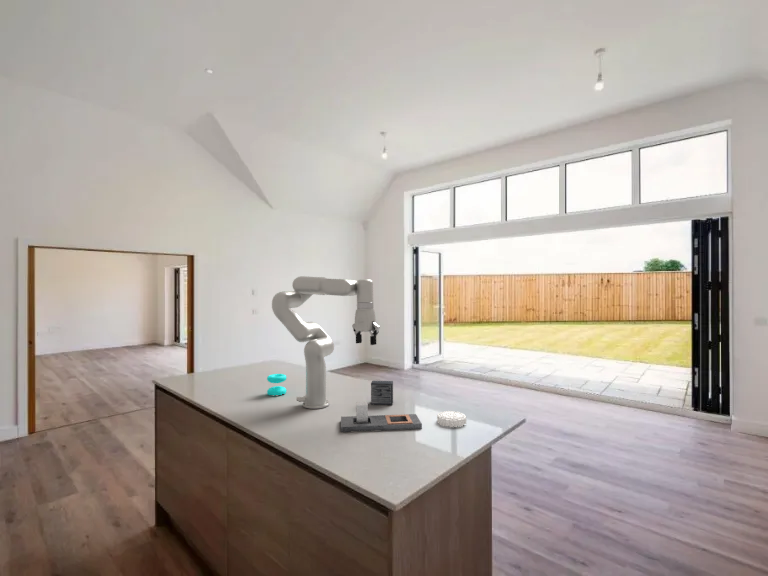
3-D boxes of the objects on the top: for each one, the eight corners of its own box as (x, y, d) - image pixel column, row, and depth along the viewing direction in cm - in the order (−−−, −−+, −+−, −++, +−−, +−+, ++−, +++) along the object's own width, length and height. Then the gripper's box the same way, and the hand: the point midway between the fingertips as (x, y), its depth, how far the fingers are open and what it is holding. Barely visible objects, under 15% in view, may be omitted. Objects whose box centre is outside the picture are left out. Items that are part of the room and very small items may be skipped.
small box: (393, 401, 188) (393, 380, 188) (392, 405, 181) (392, 383, 181) (372, 400, 189) (372, 379, 189) (370, 404, 182) (370, 383, 182)
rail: (340, 432, 147) (340, 426, 147) (341, 421, 159) (341, 416, 159) (421, 428, 150) (421, 423, 150) (415, 418, 162) (415, 413, 162)
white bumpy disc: (447, 429, 150) (447, 420, 150) (431, 420, 161) (431, 412, 161) (472, 425, 155) (472, 416, 155) (455, 416, 166) (455, 408, 166)
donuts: (290, 373, 204) (279, 378, 195) (290, 392, 204) (279, 397, 195) (274, 372, 207) (263, 376, 198) (274, 391, 207) (263, 395, 197)
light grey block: (356, 428, 151) (356, 405, 151) (356, 424, 156) (356, 402, 156) (367, 427, 152) (367, 405, 152) (367, 423, 156) (367, 401, 156)
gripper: (346, 306, 176) (347, 343, 176) (372, 306, 164) (373, 346, 164) (358, 306, 182) (359, 341, 181) (384, 306, 170) (385, 344, 169)
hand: (365, 343), depth 173 cm, fingers open, 9 cm apart
